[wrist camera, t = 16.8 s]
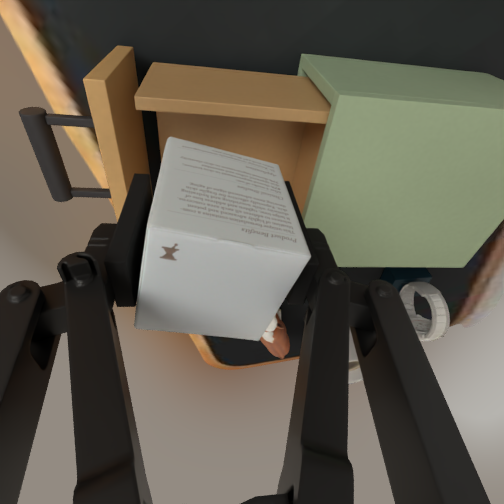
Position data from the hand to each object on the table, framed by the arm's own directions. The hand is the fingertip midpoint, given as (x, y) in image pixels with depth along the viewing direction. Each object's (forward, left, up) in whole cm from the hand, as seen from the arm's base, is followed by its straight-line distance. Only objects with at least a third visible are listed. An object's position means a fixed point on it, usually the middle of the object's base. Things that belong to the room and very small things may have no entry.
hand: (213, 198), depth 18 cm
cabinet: (+3, +16, -15) cm, 22 cm away
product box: (0, 0, 0) cm, 0 cm away
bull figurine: (+30, +9, -15) cm, 34 cm away
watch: (+23, +29, -15) cm, 40 cm away
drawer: (+3, -2, -14) cm, 14 cm away
